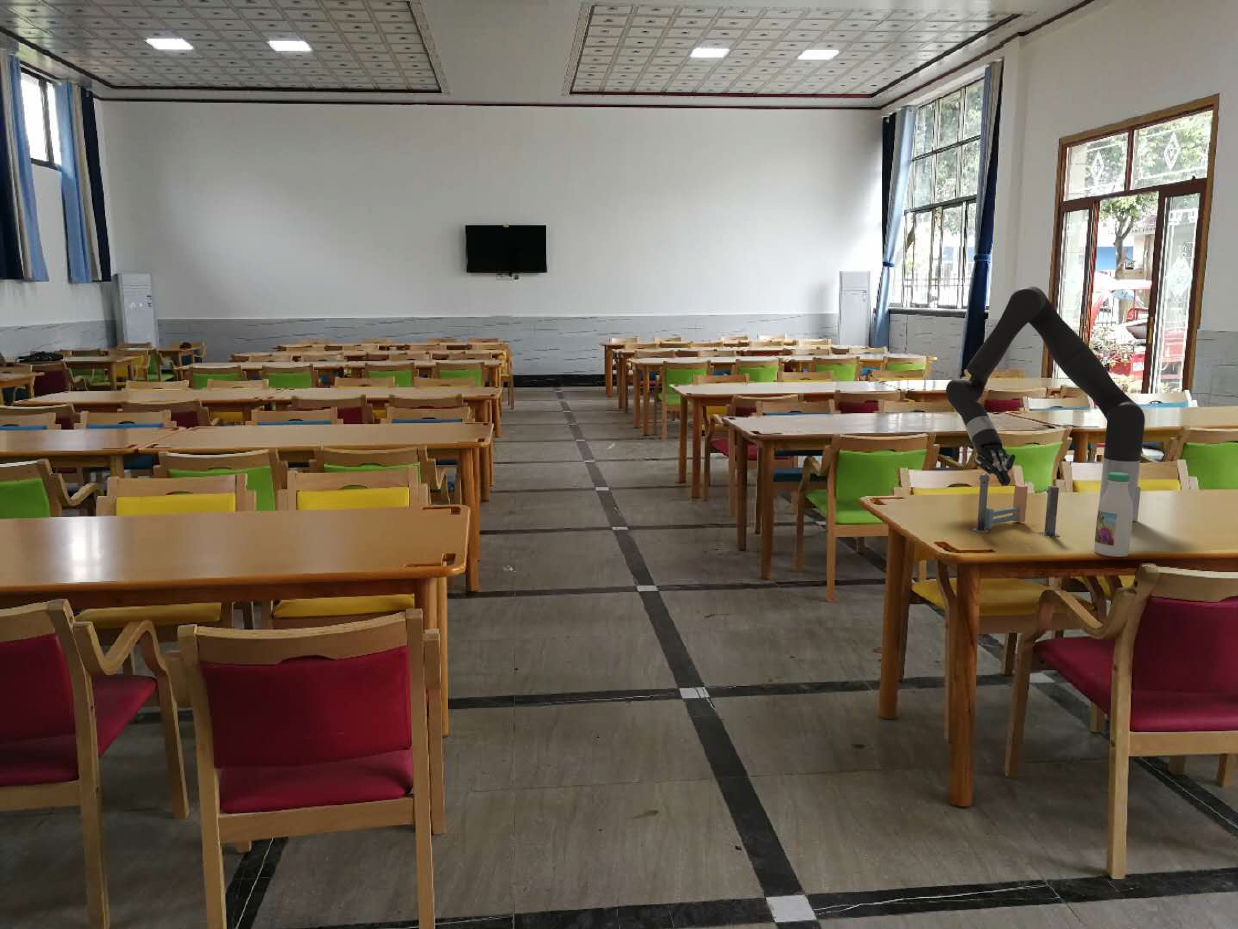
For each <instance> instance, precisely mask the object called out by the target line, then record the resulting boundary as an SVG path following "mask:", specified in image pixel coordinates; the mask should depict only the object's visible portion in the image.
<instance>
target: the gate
mask: <svg viewBox="0 0 1238 929" xmlns="http://www.w3.org/2000/svg"><path fill="white" fill-rule="evenodd" d="M1028 488H1029V487H1028V485H1025V484H1017V485H1014V491H1013V492H1014V493H1013V504H1012V507H1007V508H1003V509H999V510H994V508H990V507H986V520H985V529H988V530H989V529H992V528H993V525H998V524H1002V523H1008V522H1017V523H1025V521H1026V514H1027V513H1026V511H1027V500H1028ZM1009 514H1012V515H1009ZM1005 515H1006V516H1005ZM999 516H1001V517H999Z"/></svg>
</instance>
